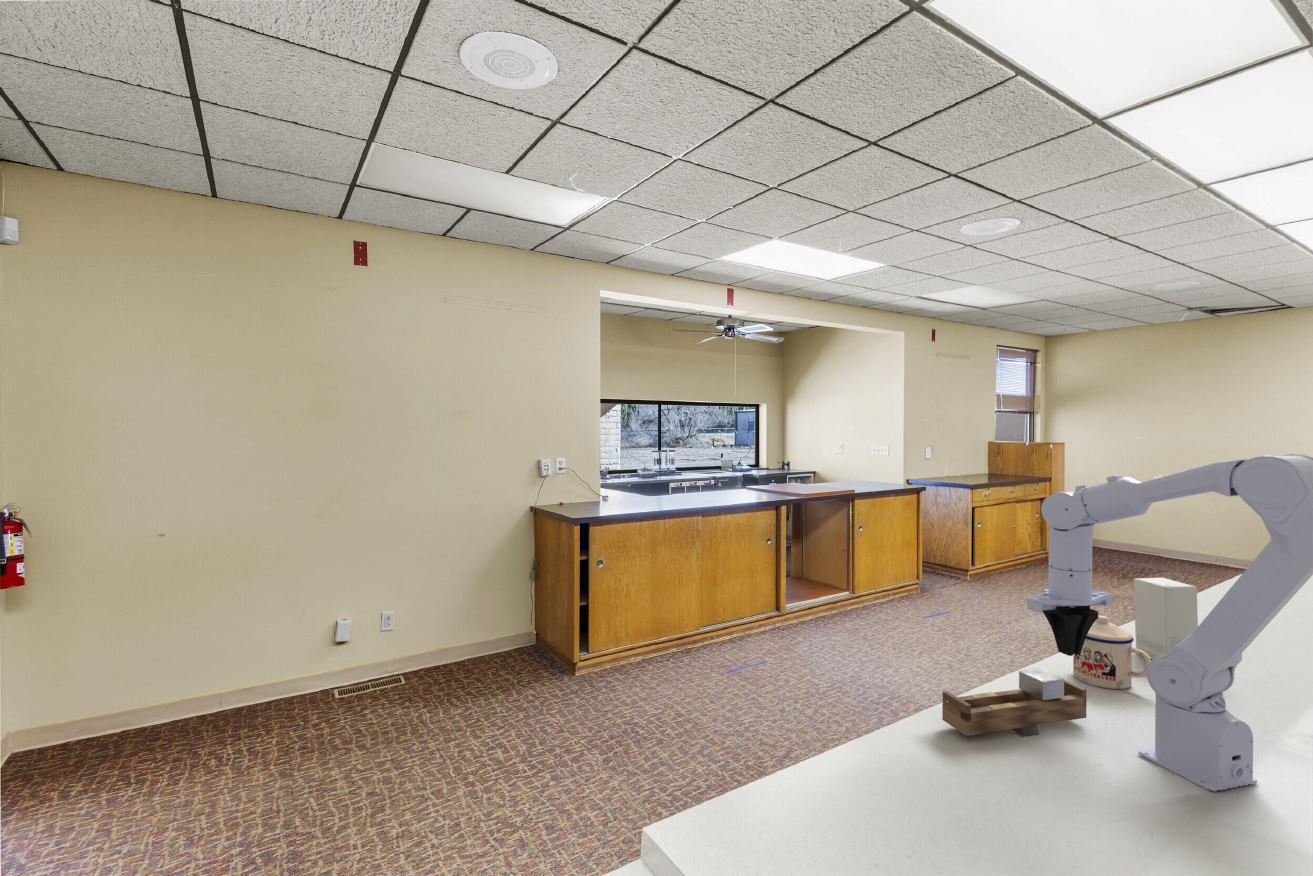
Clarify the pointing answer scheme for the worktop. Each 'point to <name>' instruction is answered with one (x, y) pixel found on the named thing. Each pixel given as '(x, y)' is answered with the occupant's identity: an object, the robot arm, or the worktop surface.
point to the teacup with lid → (1107, 656)
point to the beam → (1011, 710)
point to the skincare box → (1163, 614)
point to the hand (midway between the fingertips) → (1069, 653)
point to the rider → (1041, 684)
